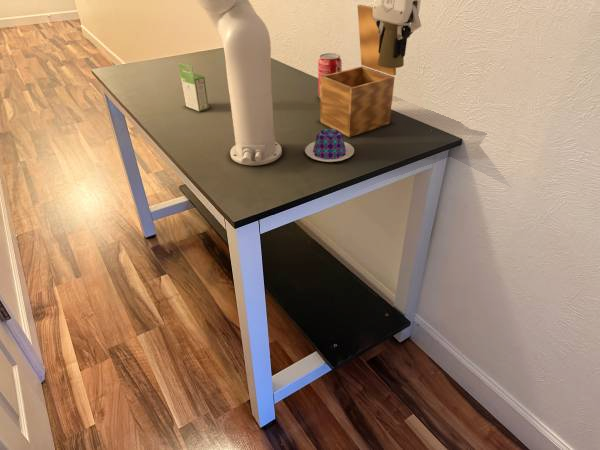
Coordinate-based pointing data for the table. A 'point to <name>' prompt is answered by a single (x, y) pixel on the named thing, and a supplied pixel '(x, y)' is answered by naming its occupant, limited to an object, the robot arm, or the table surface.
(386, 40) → the olive tapered piece
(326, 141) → the pudding
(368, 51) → the bin lid
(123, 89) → the table surface
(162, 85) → the table surface
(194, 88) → the ink box
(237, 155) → the robot arm
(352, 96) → the wooden bin
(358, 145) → the table surface
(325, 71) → the soda can
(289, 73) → the table surface
